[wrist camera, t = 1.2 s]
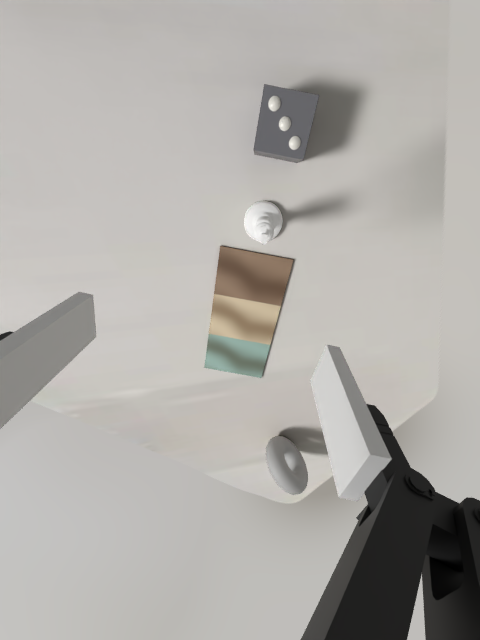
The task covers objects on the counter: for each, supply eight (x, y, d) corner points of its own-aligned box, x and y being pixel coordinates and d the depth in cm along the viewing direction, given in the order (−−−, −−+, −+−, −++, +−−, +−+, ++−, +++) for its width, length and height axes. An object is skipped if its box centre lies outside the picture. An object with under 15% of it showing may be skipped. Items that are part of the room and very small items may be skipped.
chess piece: (281, 198, 32) (289, 205, 23) (283, 239, 34) (290, 260, 25) (242, 203, 33) (235, 211, 24) (245, 243, 35) (241, 264, 26)
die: (263, 99, 28) (264, 83, 23) (310, 108, 28) (320, 95, 23) (254, 154, 30) (253, 149, 25) (298, 163, 30) (304, 159, 26)
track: (220, 245, 35) (220, 246, 35) (293, 259, 35) (293, 260, 35) (204, 366, 45) (204, 367, 45) (261, 376, 45) (261, 377, 45)
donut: (307, 448, 53) (316, 501, 45) (294, 455, 55) (300, 508, 46) (274, 422, 51) (277, 473, 42) (261, 430, 52) (261, 481, 43)
